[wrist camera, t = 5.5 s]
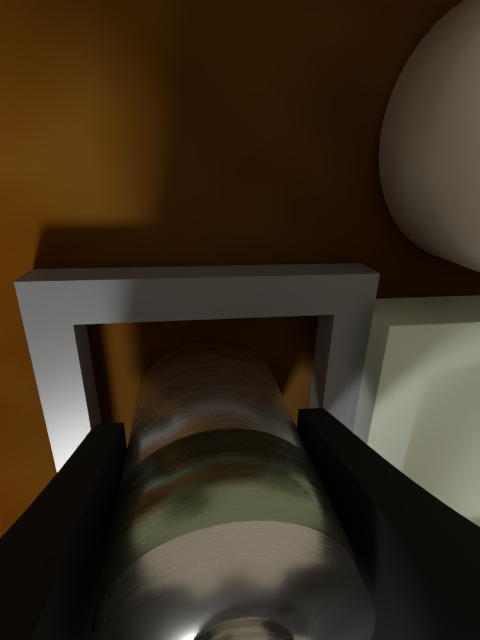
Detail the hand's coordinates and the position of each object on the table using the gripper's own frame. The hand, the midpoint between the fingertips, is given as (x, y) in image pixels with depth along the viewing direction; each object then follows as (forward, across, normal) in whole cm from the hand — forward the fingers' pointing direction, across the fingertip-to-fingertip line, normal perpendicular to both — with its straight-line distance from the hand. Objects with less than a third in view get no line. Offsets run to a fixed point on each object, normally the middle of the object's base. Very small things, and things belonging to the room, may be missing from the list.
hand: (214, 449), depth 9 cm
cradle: (+2, 0, 0) cm, 2 cm away
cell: (+2, 0, 0) cm, 2 cm away
